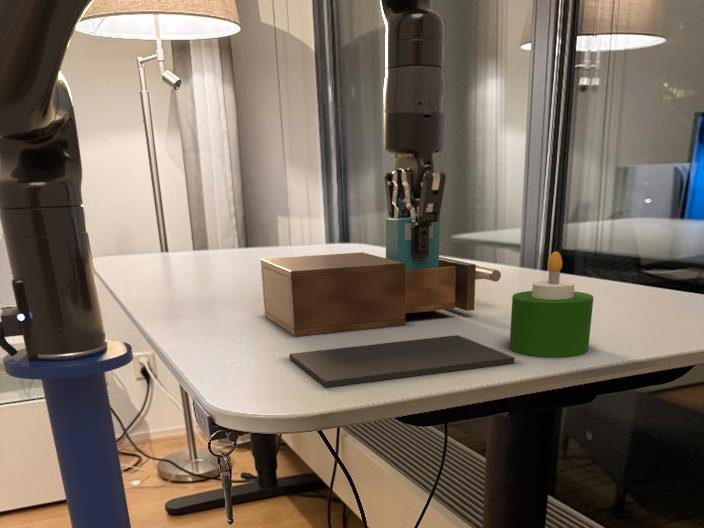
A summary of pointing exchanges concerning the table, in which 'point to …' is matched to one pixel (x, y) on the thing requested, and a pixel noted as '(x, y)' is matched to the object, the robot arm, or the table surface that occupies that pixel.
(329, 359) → the mat
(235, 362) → the table surface
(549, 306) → the candle
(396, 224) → the teal labeled box
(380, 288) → the cabinet
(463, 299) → the drawer
